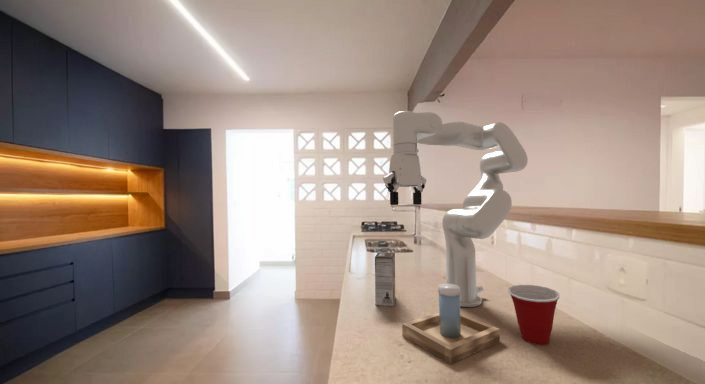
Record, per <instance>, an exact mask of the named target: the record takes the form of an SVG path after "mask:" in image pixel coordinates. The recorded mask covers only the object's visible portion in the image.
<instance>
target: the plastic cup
mask: <svg viewBox="0 0 705 384" xmlns="http://www.w3.org/2000/svg"><path fill="white" fill-rule="evenodd" d="M507 292H508V293H509V295H510V298H511V300H512V303H513V306H514V310H515V312H514V313H515V315H516V316H515V317H516V319H517V324H518V328H519V333H520V336H521V338H522V339H523V340H524V341H525V342H527V343H530V344H534V345H539V346H545V345H546V346H547V345H548V344H549V343H550V340H551V335H552V330H553V326H554V319H555V318H554V317H555V311H556V309H557V304H558V300H559V299H560V293H559V292H558V291H556V290H555V289H552V288H549V287H546V286H540V285H533V284H518V285H517V284H516V285H513V286H510V287H508V290H507Z"/></svg>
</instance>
